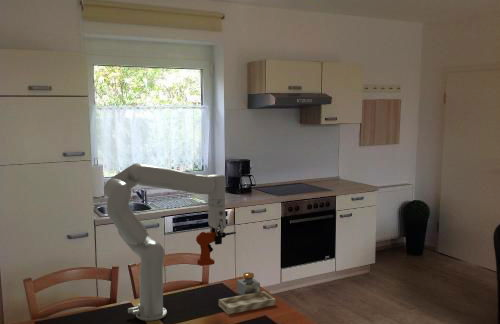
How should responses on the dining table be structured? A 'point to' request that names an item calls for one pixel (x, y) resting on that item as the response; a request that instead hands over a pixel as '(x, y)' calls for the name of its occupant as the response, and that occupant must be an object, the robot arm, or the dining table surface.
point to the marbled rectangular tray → (246, 302)
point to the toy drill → (207, 246)
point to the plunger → (248, 277)
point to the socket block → (247, 287)
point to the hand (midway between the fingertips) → (216, 242)
